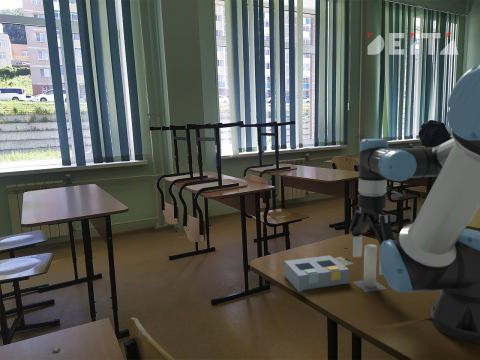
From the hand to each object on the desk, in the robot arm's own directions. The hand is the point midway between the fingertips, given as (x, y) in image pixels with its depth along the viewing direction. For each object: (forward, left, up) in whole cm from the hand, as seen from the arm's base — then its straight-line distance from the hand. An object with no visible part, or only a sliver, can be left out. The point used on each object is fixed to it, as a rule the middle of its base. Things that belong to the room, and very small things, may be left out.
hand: (369, 264), depth 110 cm
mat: (0, 0, -7) cm, 7 cm away
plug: (0, 0, -6) cm, 6 cm away
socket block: (+9, +13, -7) cm, 17 cm away
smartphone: (+19, +3, -8) cm, 20 cm away
